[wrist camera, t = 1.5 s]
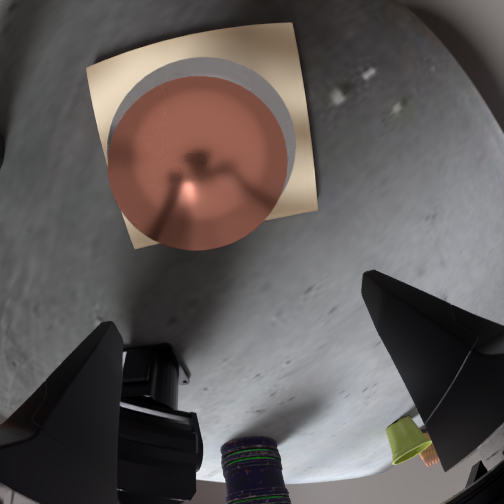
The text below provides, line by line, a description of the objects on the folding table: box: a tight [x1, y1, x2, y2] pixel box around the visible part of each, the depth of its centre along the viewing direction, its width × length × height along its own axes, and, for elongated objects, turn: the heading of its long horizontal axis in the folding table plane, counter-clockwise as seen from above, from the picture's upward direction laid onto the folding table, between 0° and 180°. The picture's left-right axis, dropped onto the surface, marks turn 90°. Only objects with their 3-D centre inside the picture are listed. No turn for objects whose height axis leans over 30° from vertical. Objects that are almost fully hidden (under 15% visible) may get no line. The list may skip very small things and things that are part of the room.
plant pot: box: [386, 416, 432, 465], centre depth 44 cm, size 9×9×9 cm
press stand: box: [86, 23, 318, 249], centre depth 16 cm, size 14×14×4 cm
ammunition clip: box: [419, 429, 440, 467], centre depth 52 cm, size 11×2×12 cm, turn 62°
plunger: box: [107, 57, 296, 251], centre depth 10 cm, size 7×7×7 cm
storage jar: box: [221, 436, 291, 504], centre depth 34 cm, size 10×10×15 cm
